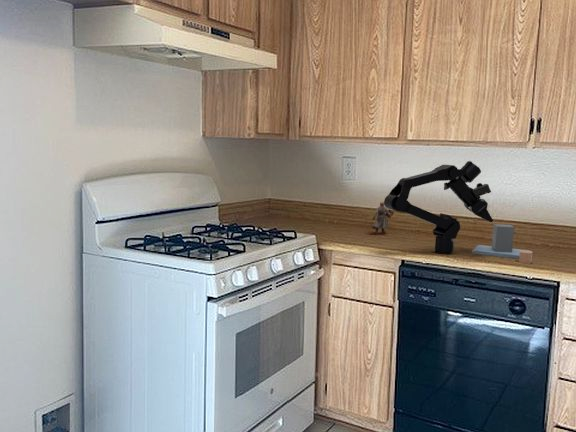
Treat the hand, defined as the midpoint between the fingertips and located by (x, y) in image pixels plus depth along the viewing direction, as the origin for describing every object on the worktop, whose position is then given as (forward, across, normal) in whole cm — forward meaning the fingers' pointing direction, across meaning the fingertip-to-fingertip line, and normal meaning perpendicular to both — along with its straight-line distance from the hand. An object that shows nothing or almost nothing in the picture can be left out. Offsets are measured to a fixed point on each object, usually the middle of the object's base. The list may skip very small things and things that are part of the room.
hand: (489, 219), depth 218 cm
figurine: (-19, +36, +38) cm, 56 cm away
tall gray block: (+13, +3, +4) cm, 14 cm away
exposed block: (+18, -12, +2) cm, 21 cm away
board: (+14, +3, +5) cm, 15 cm away
